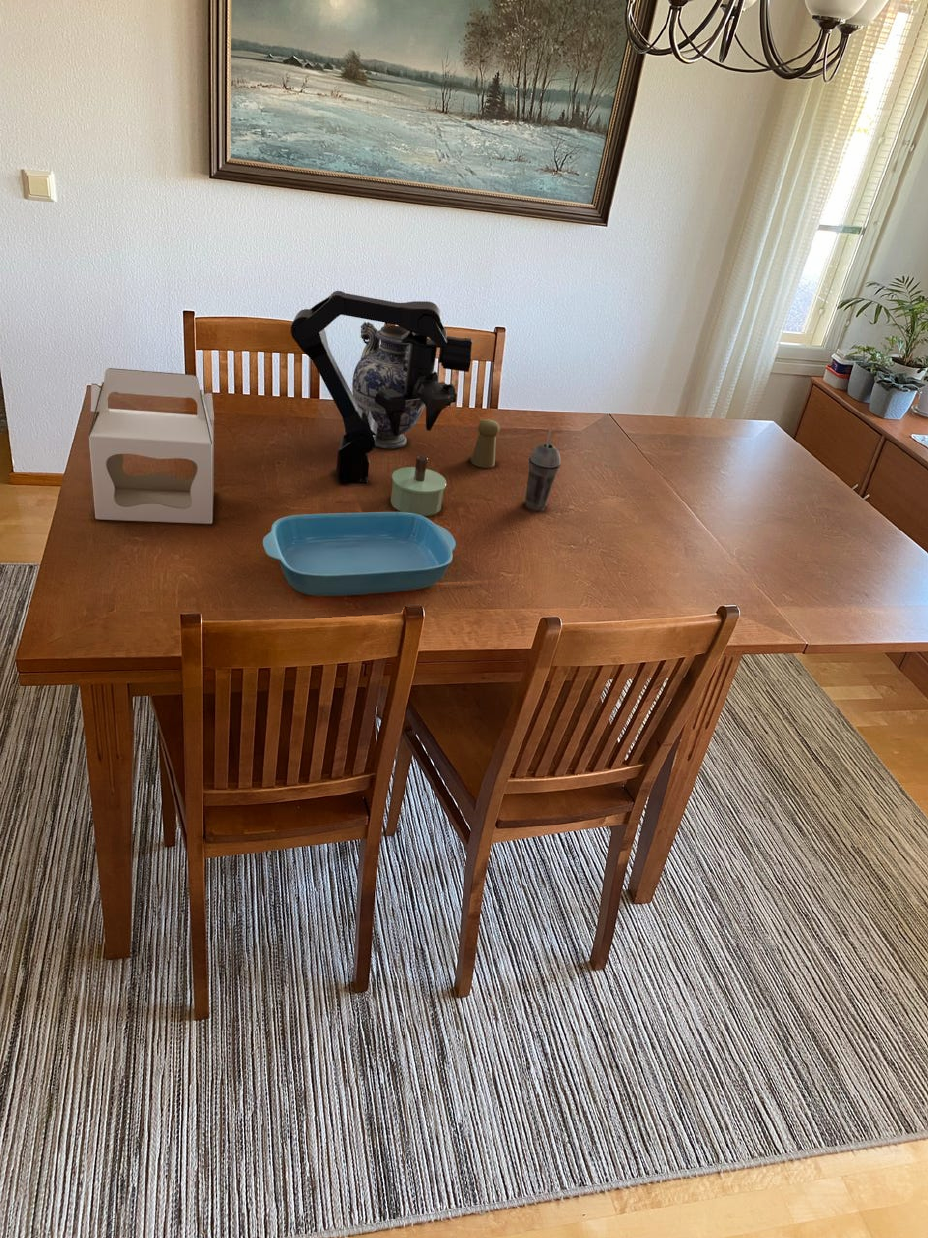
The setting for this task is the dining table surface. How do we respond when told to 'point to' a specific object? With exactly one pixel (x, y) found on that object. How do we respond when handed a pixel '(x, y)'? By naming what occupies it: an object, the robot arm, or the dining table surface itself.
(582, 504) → the dining table surface
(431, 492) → the lid
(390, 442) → the decorative vase
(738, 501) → the dining table surface
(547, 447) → the beverage cup
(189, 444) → the gable box
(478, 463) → the pepper mill
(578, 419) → the dining table surface
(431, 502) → the pot
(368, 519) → the casserole dish
